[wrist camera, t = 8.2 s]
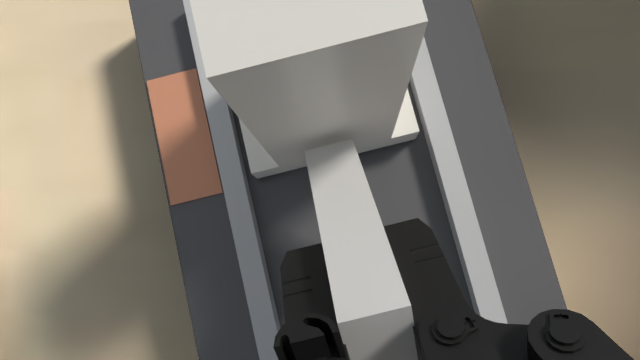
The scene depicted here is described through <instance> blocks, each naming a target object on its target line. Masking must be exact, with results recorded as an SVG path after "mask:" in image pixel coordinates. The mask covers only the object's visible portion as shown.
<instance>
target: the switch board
mask: <svg viewBox="0 0 640 360" xmlns="http://www.w3.org/2000/svg"><path fill="white" fill-rule="evenodd" d="M422 1H423V5H424V8H425V12H426V15H427V18H428V23H427V27H426V30H425V33H424V36H423V39H422V42H421V46H420V49H419V52H418V55H417V58H416V61H415V65H414V68H413V71H412V74H411V77H410V80H409V84H408V87H407V88H408V92H409V96H410V99H411V103H412V106H413V110H414V113H415V117H416V120H417V124H418V128H419V133H418V135H417V137H416V139H414V140H410V141H406V142H402V143H398V144H394V145H390V146H386V147H382V148H378V149H374V150H370V151H366V152H362V153H358V156H359V159H360V162H361V164H362V167H363V170H364V173H365V176H366V179H367V181H368V184H369V187H370V190H371V193H372V196H373V198H374V201H375V204H376V207H377V210H378V213H379V215H380V218H381V221H382V224H383V226H387V225H391V224H395V223H399V222H403V221H407V220H411V219H415V218H419V219H420V220H421V221H422V222H424V223H425V224H426V225H428V226H429V227H430V228H431V229H432V231H433V233H434V235H435V237H436V239H437V241H438V244H439V246H440V248H441V250H442V252H443V254H444V257H445V258H446V260H447V263H448V265H449V267H450V269H451V271H452V273H453V275H454V277H455V280H456V282H457V284H458V286H459V288H460V290H461V292H462V295H463V297H464V299H465V301H466V302H467V304H468V305H469V307H470V308H471V309H472V310H473V311H474V312H475V313H476V314H478V315H479V316H481V317H483V318H485V319H487V320H490V321H493V322H498V323H505V324H525V325H529V324H530V322H531V319H533V318H534V317H535V316H536V315H538V314H539V313H540V312H544V311H547V310H551V309H567V307H566V304H565V301H564V298H563V295H562V291H561V288H560V285H559V282H558V278H557V275H556V272H555V269H554V266H553V262H552V259H551V256H550V253H549V250H548V246H547V243H546V240H545V237H544V233H543V230H542V227H541V224H540V221H539V217H538V214H537V211H536V208H535V205H534V201H533V198H532V195H531V192H530V189H529V185H528V182H527V179H526V176H525V172H524V169H523V166H522V163H521V160H520V156H519V153H518V150H517V147H516V144H515V140H514V137H513V134H512V131H511V128H510V124H509V121H508V118H507V115H506V111H505V108H504V105H503V102H502V99H501V95H500V92H499V89H498V86H497V83H496V79H495V76H494V73H493V70H492V66H491V63H490V60H489V57H488V54H487V50H486V47H485V44H484V41H483V38H482V34H481V31H480V28H479V25H478V22H477V18H476V15H475V12H474V9H473V5H472V2H471V0H422ZM129 4H130V9H131V14H132V19H133V24H134V29H135V34H136V39H137V45H138V50H139V55H140V60H141V65H142V70H143V75H144V80H145V85H146V91H147V96H148V101H149V106H150V111H151V116H152V121H153V126H154V131H155V137H156V142H157V147H158V152H159V157H160V162H161V167H162V172H163V177H164V182H165V188H166V193H167V198H168V203H169V208H170V213H171V218H172V223H173V228H174V234H175V239H176V244H177V249H178V254H179V259H180V264H181V269H182V274H183V279H184V285H185V290H186V295H187V300H188V305H189V310H190V315H191V320H192V325H193V331H194V336H195V341H196V346H197V351H198V356H199V360H278V357H277V355H276V353H275V350H274V348H273V346H274V340H275V336H276V334H277V333H278V331H279V329H280V328H281V326H282V325H284V324H285V318H284V307H283V295H282V283H281V272H280V266H281V264H282V261H283V259H284V257H285V254H286V252H287V251H290V250H294V249H298V248H303V247H307V246H311V245H315V244H319V243H322V241H321V236H320V231H319V225H318V220H317V215H316V210H315V204H314V199H313V194H312V189H311V183H310V178H309V173H308V168H307V166H306V167H302V168H298V169H294V170H290V171H286V172H282V173H278V174H274V175H270V176H266V177H263V178H259V179H257V178H256V177H255V176H253V175H252V174H251V171H250V166H249V162H248V157H247V153H246V148H245V144H244V140H243V135H242V131H241V126H240V122H239V117H238V116H237V115H236V114H235V112H234V111H233V110H232V109H231V107H230V106H229V105H228V104H227V103H226V101H225V100H224V99H223V98H222V96H221V95H220V94H219V93H218V92H217V90H216V89H215V88H214V87H213V85H212V84H211V83H210V82H209V81H208V79H207V78H206V74H205V69H204V65H203V60H202V55H201V51H200V46H199V42H198V37H197V32H196V28H195V23H194V19H193V14H192V9H191V5H190V0H129Z"/></svg>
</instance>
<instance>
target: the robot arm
mask: <svg viewBox="0 0 640 360" xmlns="http://www.w3.org/2000/svg"><path fill="white" fill-rule="evenodd" d="M304 152H305V157H306V163H307V168H308V173H309V178H310V183H311V189H312V194H313V199H314V204H315V210H316V215H317V220H318V225H319V231H320V236H321V241H322V243H319V244H315V245H311V246H307V247H303V248H298V249H294V250H290V251H287V252H286V254H285V257H284V259H283V261H282V264H281V266H280V272H281V283H282V295H283V307H284V318H285V324H284V325H282V326H281V328H280V329H279V331H278V333H277V334H276V336H275V340H274V346H273V348H274V350H275V353H276V355H277V357H278V360H634V359H632V358H631V357H630V356H629V355H628V354H627V353H626V352H625V351H624V350H623V349H622V348H620V347H619V346H618V345H617V344H616V343H615V342H614V341H613V340H612V339H611V338H610V337H609V336H607V335H606V334H605V333H604V332H603V331H602V330H601V329H600V328H599V327H598V326H597V325H595V324H594V323H593V322H592V321H591V320H589V319H588V318H586V317H585V316H583V315H582V314H579V313H576V312H573V311H570V310H567V309H551V310H547V311H544V312H540V313H539V314H538V315H536V316H535V317H534V318H533V319H531V322H530V324H529V325H525V324H505V323H498V322H493V321H490V320H487V319H485V318H483V317H481V316H479V315H478V314H476V313H475V312H474V311H473V310H472V309H471V308H470V307H469V305H468V304H467V302H466V301H465V299H464V297H463V295H462V292H461V290H460V288H459V286H458V284H457V282H456V280H455V277H454V275H453V273H452V271H451V269H450V267H449V265H448V263H447V260H446V258H445V257H444V254H443V252H442V250H441V248H440V246H439V244H438V241H437V239H436V237H435V235H434V233H433V231H432V229H431V228H430V227H429V226H428V225H426V224H425V223H424V222H422V221H421V220H420V219H419V218H415V219H411V220H407V221H403V222H399V223H395V224H391V225H387V226H383V224H382V221H381V218H380V215H379V213H378V210H377V207H376V204H375V201H374V198H373V196H372V193H371V190H370V187H369V184H368V181H367V179H366V176H365V173H364V170H363V167H362V164H361V162H360V159H359V156H358V153H357V150H356V147H355V144H354V142H353V139H350V140H346V141H342V142H338V143H334V144H330V145H326V146H322V147H318V148H314V149H310V150H306V151H304Z"/></svg>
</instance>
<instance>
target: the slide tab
mask: <svg viewBox="0 0 640 360" xmlns="http://www.w3.org/2000/svg"><path fill="white" fill-rule="evenodd" d="M190 5H191V9H192V14H193V19H194V23H195V28H196V32H197V37H198V42H199V46H200V51H201V55H202V60H203V65H204V69H205V74H206V78H207V79H208V81H209V82H210V83H211V84H212V85H213V87H214V88H215V89H216V90H217V92H218V93H219V94H220V95H221V96H222V98H223V99H224V100H225V101H226V103H227V104H228V105H229V106H230V107H231V109H232V110H233V111H234V112H235V114H236V115H237V116H238V117H239V122H240V126H241V131H242V135H243V140H244V144H245V148H246V153H247V157H248V162H249V166H250V171H251V174H252V175H253V176H255V177H256V178H257V179H259V178H263V177H266V176H270V175H274V174H278V173H282V172H286V171H290V170H294V169H298V168H302V167H306V166H307V163H306V157H305V152H304V151H306V150H310V149H314V148H318V147H322V146H326V145H330V144H334V143H338V142H342V141H346V140H350V139H353V142H354V144H355V147H356V150H357V153H362V152H366V151H370V150H374V149H378V148H382V147H386V146H390V145H394V144H398V143H402V142H406V141H410V140H414V139H416V137H417V135H418V133H419V128H418V124H417V120H416V117H415V113H414V110H413V106H412V103H411V99H410V96H409V92H408V88H407V87H408V84H409V80H410V77H411V74H412V71H413V68H414V65H415V61H416V58H417V55H418V52H419V49H420V46H421V42H422V39H423V36H424V33H425V30H426V27H427V23H428V18H427V15H426V12H425V8H424V5H423V1H422V0H190Z"/></svg>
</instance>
